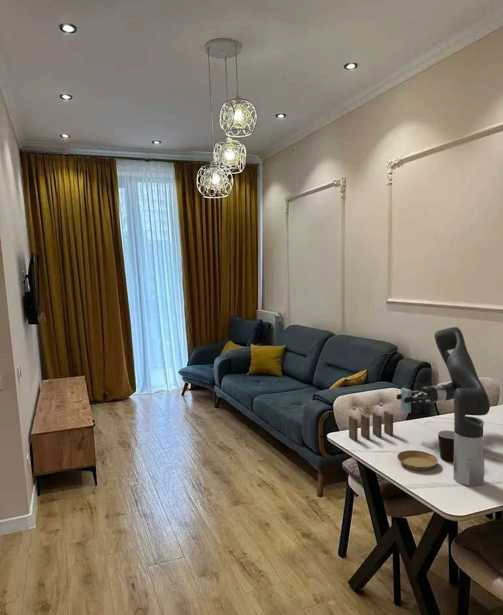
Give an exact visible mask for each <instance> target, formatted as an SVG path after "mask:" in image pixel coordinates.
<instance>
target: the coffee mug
mask: <svg viewBox="0 0 503 615" xmlns="http://www.w3.org/2000/svg"><path fill="white" fill-rule="evenodd" d="M437 438H438V448H439V458H440V460H441V461H443V462H446V463H454V430H440V431H438V432H437Z"/></svg>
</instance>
